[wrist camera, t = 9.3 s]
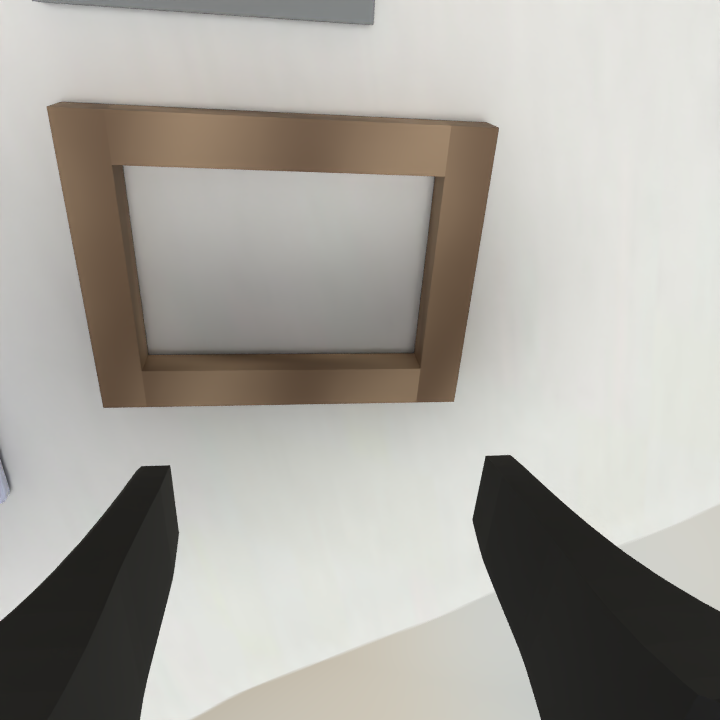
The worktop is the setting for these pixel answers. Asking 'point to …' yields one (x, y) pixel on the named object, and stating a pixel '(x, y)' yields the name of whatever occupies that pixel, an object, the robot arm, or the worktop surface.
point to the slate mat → (254, 8)
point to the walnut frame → (275, 153)
